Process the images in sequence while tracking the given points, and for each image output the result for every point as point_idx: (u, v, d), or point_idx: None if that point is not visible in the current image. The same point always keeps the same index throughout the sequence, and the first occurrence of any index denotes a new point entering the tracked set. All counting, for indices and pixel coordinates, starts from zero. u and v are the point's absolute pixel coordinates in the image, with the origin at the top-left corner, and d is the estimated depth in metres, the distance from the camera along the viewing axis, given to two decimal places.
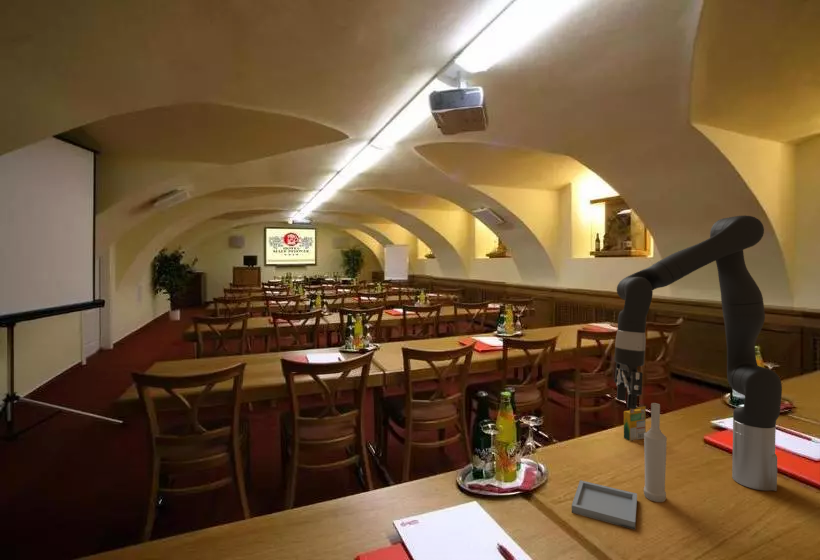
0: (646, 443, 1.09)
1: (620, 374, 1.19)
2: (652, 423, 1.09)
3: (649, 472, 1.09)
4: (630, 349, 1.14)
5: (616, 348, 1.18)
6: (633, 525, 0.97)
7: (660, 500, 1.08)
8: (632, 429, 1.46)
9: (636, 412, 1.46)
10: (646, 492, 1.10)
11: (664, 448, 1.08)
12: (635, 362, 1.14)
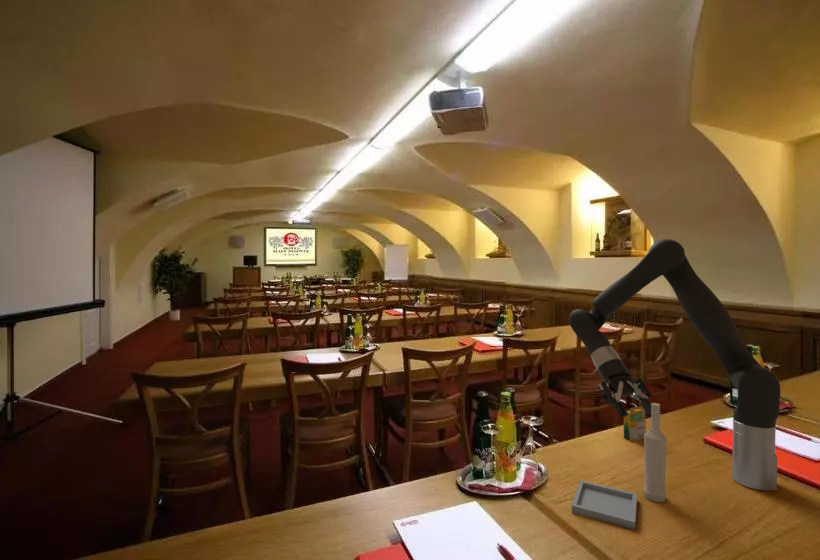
0: (646, 443, 1.09)
1: None
2: (652, 423, 1.09)
3: (649, 472, 1.09)
4: (597, 368, 1.26)
5: None
6: (633, 525, 0.97)
7: (660, 500, 1.08)
8: (632, 429, 1.46)
9: (636, 412, 1.46)
10: (646, 492, 1.10)
11: (664, 448, 1.08)
12: (604, 375, 1.22)
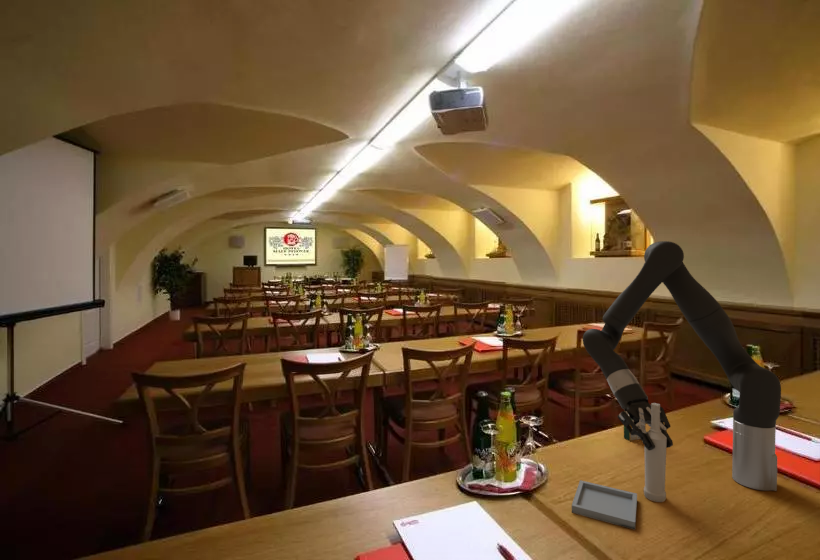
0: None
1: None
2: (652, 423, 1.09)
3: (649, 472, 1.09)
4: (614, 392, 1.19)
5: None
6: (633, 525, 0.97)
7: (660, 500, 1.08)
8: None
9: None
10: (646, 492, 1.10)
11: (664, 448, 1.08)
12: (622, 401, 1.16)
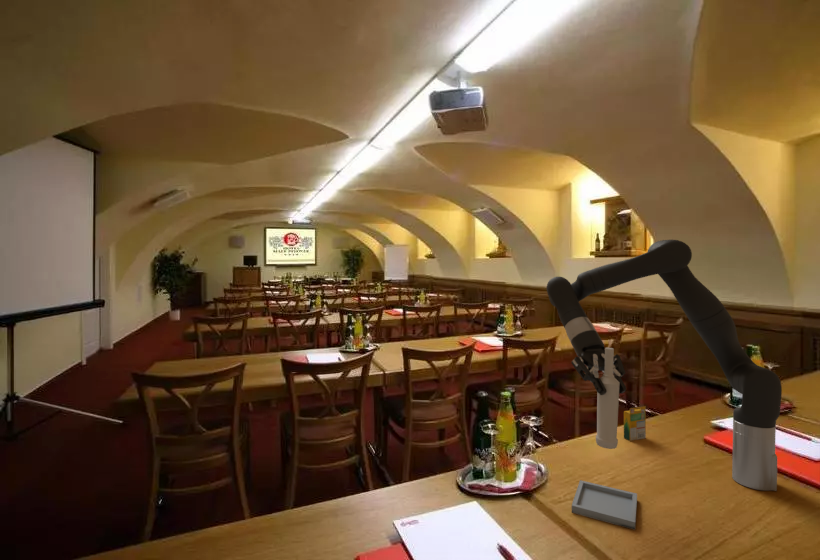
0: None
1: None
2: (605, 368, 1.06)
3: (601, 419, 1.05)
4: (570, 340, 1.15)
5: None
6: (633, 525, 0.97)
7: (611, 447, 1.04)
8: (632, 429, 1.46)
9: (636, 412, 1.46)
10: (597, 439, 1.06)
11: (616, 393, 1.04)
12: (578, 348, 1.12)
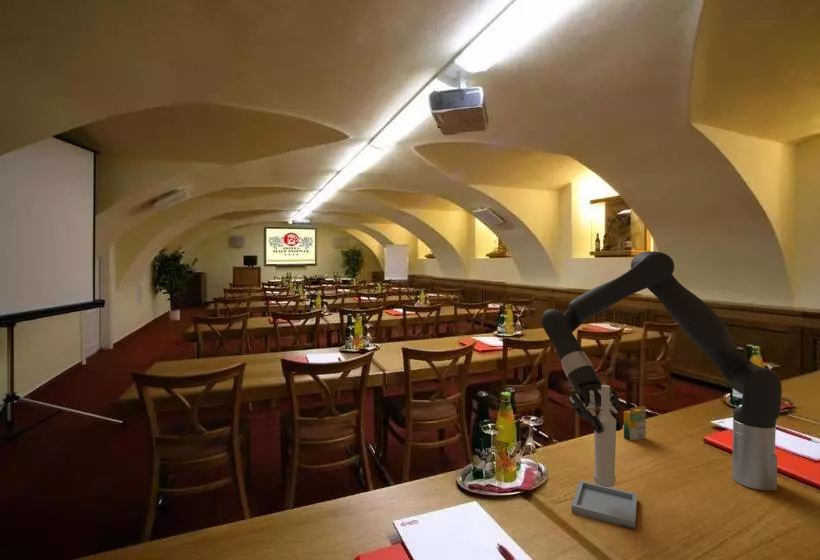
0: None
1: None
2: (601, 406, 1.05)
3: (598, 457, 1.05)
4: (567, 375, 1.15)
5: None
6: (633, 525, 0.97)
7: (609, 485, 1.04)
8: (632, 429, 1.46)
9: (636, 412, 1.46)
10: (595, 477, 1.06)
11: (613, 431, 1.04)
12: (574, 384, 1.12)
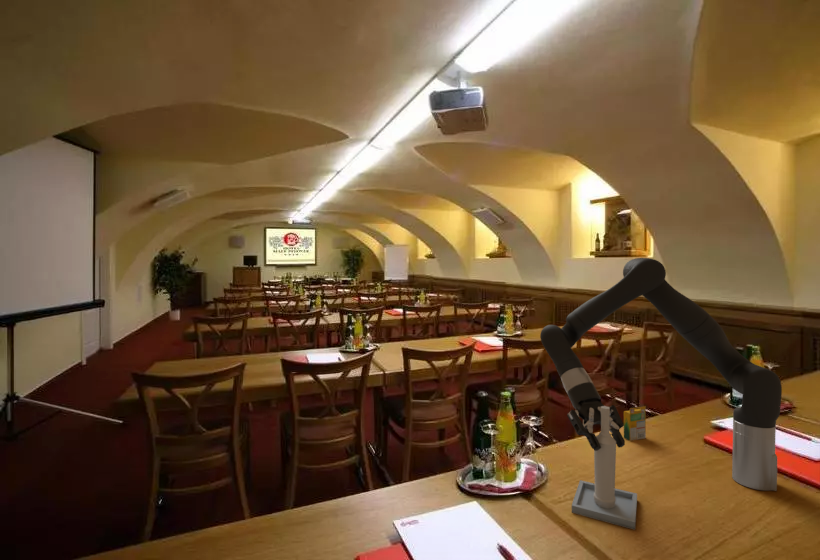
0: None
1: None
2: (601, 427, 1.06)
3: (598, 478, 1.05)
4: (567, 392, 1.15)
5: None
6: (633, 525, 0.97)
7: (609, 506, 1.04)
8: (632, 429, 1.46)
9: (636, 412, 1.46)
10: (595, 498, 1.06)
11: (613, 453, 1.04)
12: (574, 401, 1.12)
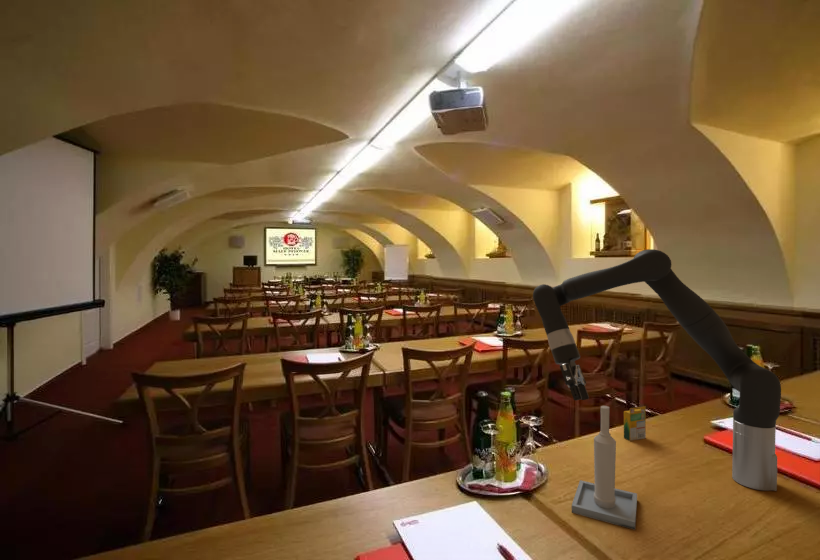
0: (595, 447, 1.06)
1: None
2: (601, 427, 1.06)
3: (598, 478, 1.05)
4: (556, 347, 1.25)
5: None
6: (633, 525, 0.97)
7: (609, 506, 1.04)
8: (632, 429, 1.46)
9: (636, 412, 1.46)
10: (595, 498, 1.06)
11: (613, 453, 1.04)
12: (564, 356, 1.23)
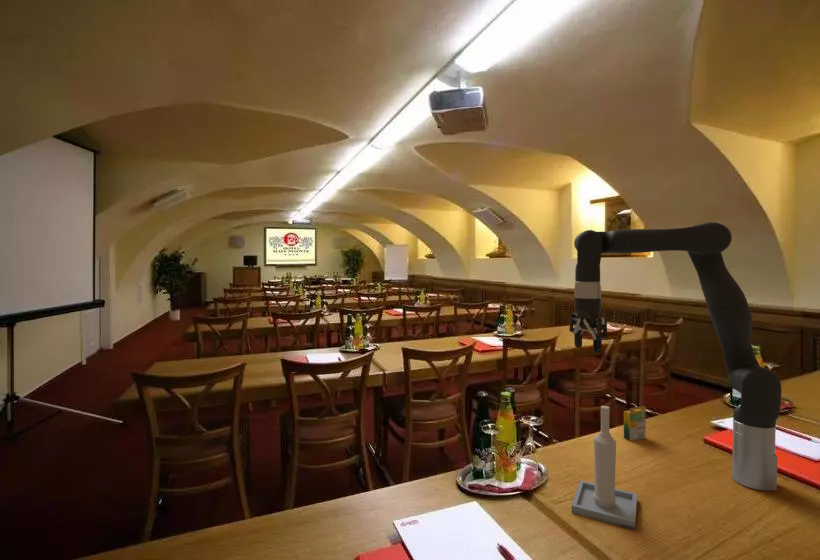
0: (595, 447, 1.06)
1: (580, 323, 1.27)
2: (601, 427, 1.06)
3: (598, 478, 1.05)
4: (592, 298, 1.22)
5: (577, 299, 1.25)
6: (633, 525, 0.97)
7: (609, 506, 1.04)
8: (632, 429, 1.46)
9: (636, 412, 1.46)
10: (595, 498, 1.06)
11: (613, 453, 1.04)
12: (596, 309, 1.23)
